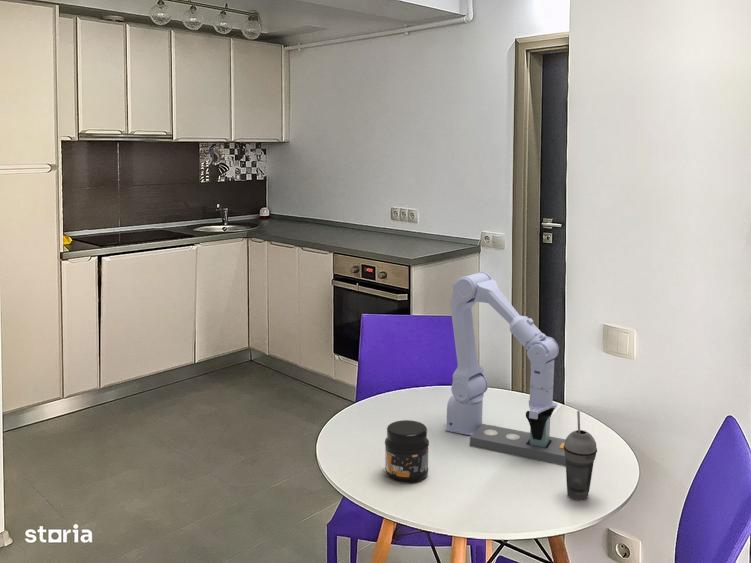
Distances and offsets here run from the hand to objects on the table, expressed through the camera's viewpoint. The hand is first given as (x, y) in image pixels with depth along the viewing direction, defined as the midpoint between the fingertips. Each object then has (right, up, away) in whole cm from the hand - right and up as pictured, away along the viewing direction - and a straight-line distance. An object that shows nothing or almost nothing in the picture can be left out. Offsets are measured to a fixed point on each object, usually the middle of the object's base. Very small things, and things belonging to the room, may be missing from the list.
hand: (539, 435), depth 184 cm
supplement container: (-35, -7, -11) cm, 37 cm away
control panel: (-4, -4, +3) cm, 6 cm away
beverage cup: (+4, -9, -22) cm, 24 cm away
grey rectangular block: (0, -2, 0) cm, 2 cm away
